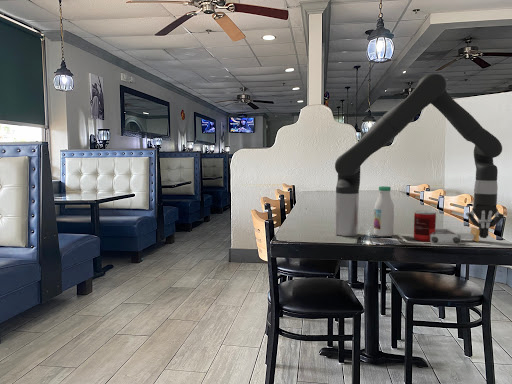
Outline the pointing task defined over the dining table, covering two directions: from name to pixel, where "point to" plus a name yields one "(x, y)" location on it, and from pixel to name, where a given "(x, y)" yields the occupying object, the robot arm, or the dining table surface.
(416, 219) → the canned food
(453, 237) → the trolley
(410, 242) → the track
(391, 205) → the milk bottle
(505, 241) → the dining table surface
